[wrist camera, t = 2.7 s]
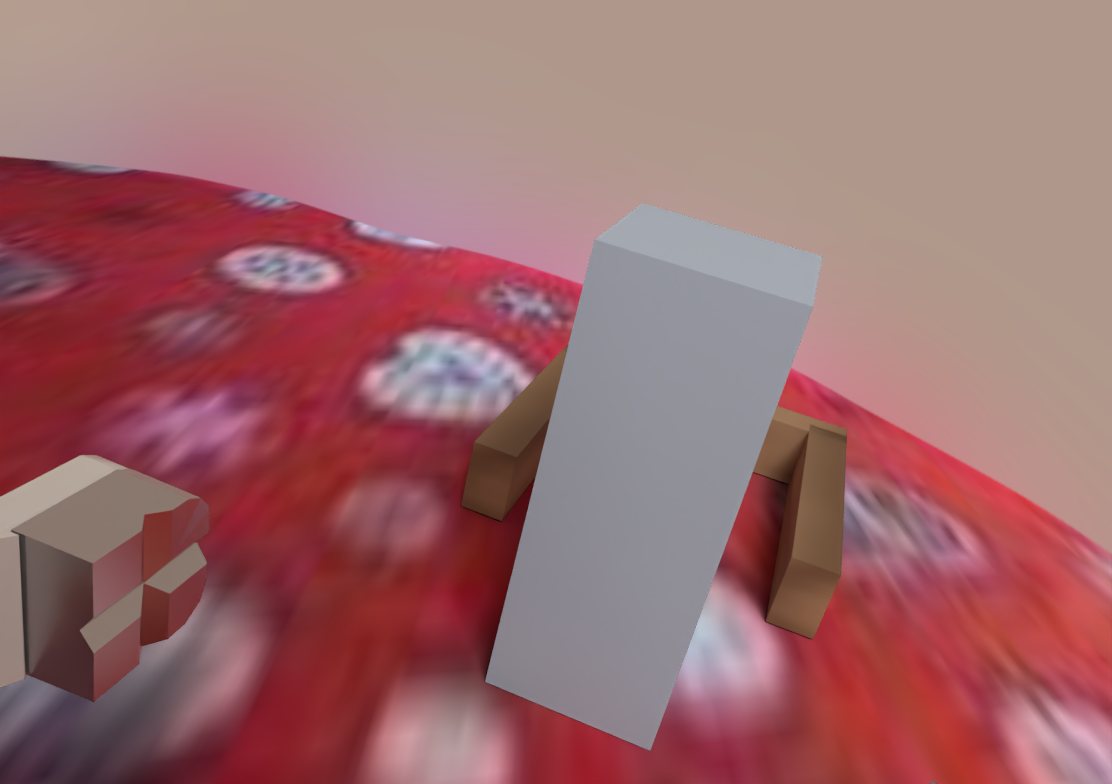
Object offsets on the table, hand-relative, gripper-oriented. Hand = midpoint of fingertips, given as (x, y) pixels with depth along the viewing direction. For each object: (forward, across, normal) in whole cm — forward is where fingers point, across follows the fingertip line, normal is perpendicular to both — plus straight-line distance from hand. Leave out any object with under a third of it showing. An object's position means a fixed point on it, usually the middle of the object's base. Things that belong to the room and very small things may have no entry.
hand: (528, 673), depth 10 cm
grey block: (+12, 0, +10) cm, 16 cm away
